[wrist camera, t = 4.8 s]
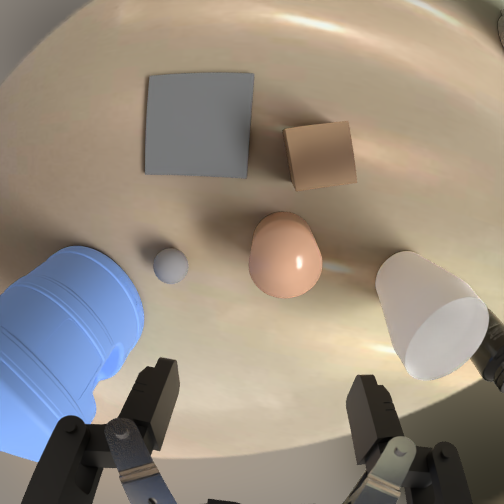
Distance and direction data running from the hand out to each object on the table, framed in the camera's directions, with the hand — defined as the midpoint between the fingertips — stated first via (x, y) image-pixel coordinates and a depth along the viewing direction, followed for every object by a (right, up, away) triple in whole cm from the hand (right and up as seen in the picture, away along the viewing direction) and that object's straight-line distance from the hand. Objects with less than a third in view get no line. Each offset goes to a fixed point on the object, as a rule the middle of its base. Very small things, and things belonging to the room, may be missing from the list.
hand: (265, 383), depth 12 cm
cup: (+16, +3, +18) cm, 25 cm away
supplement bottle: (+32, -5, +20) cm, 38 cm away
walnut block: (+5, +15, +14) cm, 21 cm away
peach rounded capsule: (+2, +7, +17) cm, 19 cm away
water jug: (-21, 0, +22) cm, 30 cm away
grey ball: (-9, +5, +19) cm, 21 cm away
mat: (-6, +18, +13) cm, 23 cm away
